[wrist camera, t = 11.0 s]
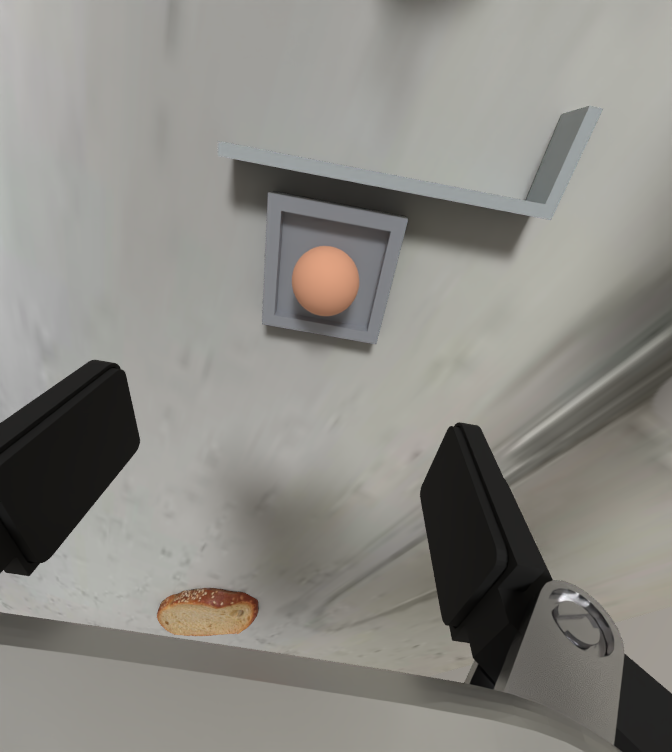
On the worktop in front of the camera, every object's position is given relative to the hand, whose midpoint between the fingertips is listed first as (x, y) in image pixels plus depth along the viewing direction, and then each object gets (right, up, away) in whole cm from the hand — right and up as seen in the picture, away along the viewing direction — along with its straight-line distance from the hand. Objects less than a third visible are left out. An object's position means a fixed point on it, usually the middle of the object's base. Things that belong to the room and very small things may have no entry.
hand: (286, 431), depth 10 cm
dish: (+1, +10, +17) cm, 20 cm away
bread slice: (-22, -42, +52) cm, 70 cm away
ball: (+1, +10, +17) cm, 20 cm away
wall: (+5, +18, +13) cm, 22 cm away
